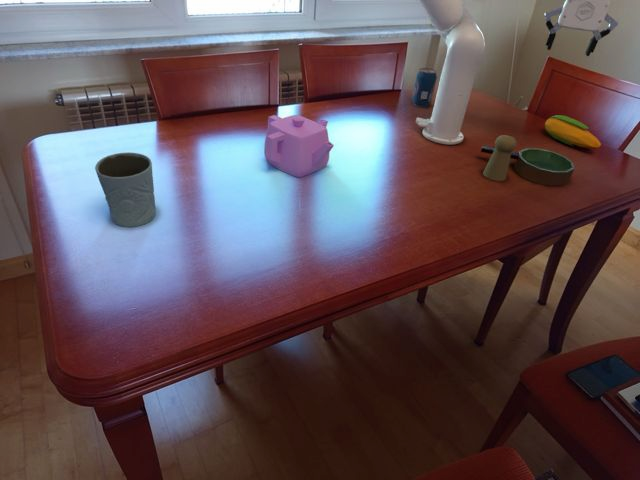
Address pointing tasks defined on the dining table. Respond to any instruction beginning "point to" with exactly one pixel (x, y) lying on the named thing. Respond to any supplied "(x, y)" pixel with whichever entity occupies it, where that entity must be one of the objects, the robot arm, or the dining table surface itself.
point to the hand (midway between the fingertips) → (567, 52)
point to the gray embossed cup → (128, 188)
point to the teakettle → (297, 144)
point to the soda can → (424, 87)
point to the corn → (571, 132)
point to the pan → (540, 166)
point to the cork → (500, 158)
